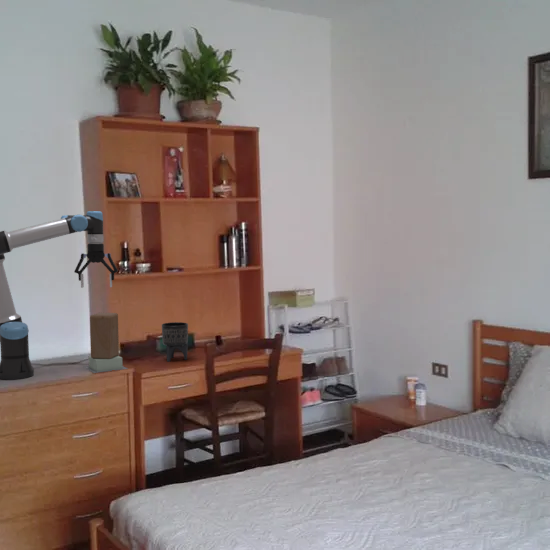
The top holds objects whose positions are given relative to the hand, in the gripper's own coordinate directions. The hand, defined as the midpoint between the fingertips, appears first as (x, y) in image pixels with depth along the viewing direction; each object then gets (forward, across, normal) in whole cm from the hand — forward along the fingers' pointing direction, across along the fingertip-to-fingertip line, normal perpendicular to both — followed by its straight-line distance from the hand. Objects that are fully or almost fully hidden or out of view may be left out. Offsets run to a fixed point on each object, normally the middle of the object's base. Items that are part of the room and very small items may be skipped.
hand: (96, 287), depth 325 cm
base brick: (+36, +6, -18) cm, 40 cm away
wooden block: (+31, +6, -18) cm, 36 cm away
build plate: (+37, +6, -18) cm, 41 cm away
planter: (+37, +37, +2) cm, 52 cm away
